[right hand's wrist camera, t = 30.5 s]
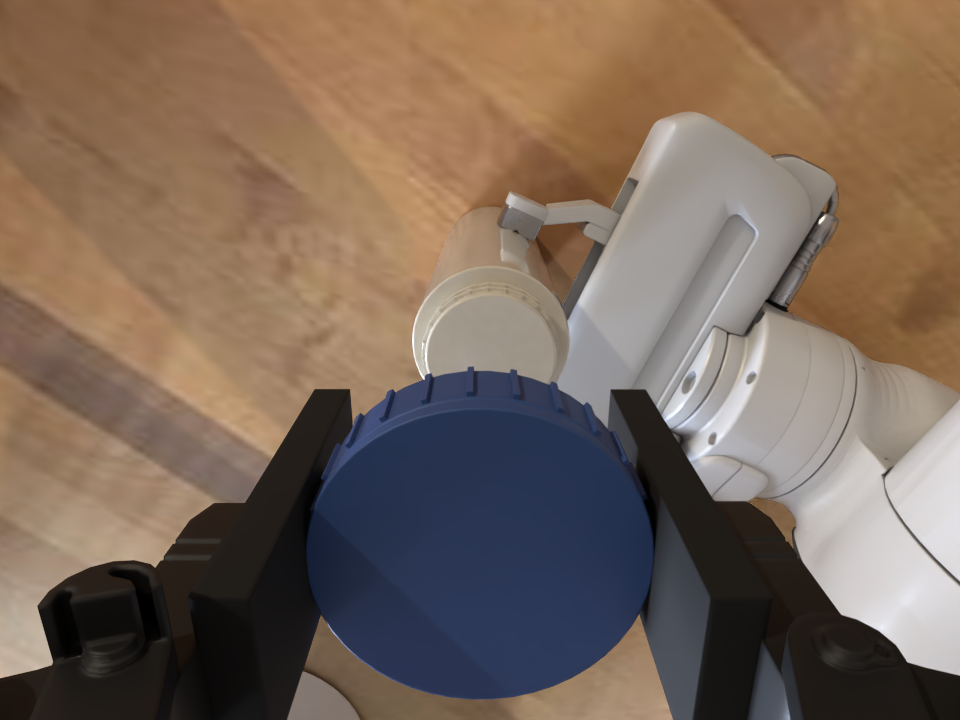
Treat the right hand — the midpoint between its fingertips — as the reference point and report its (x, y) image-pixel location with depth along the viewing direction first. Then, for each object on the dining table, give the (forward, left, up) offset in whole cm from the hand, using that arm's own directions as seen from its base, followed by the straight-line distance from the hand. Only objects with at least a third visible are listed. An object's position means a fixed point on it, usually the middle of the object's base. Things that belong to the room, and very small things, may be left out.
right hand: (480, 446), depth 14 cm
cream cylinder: (0, 0, -23) cm, 23 cm away
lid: (0, 0, +4) cm, 4 cm away
